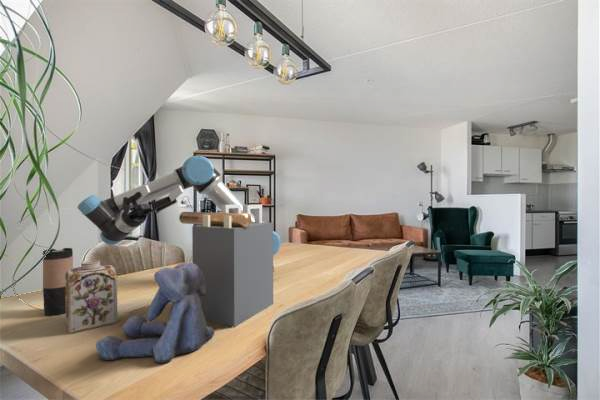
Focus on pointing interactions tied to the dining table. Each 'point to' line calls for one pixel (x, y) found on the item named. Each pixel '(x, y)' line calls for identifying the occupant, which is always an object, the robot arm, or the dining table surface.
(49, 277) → the travel mug
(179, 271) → the elephant
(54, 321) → the dining table surface
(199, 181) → the robot arm
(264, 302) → the grey pedestal with pegs
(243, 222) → the copper tube
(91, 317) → the decorative jar
